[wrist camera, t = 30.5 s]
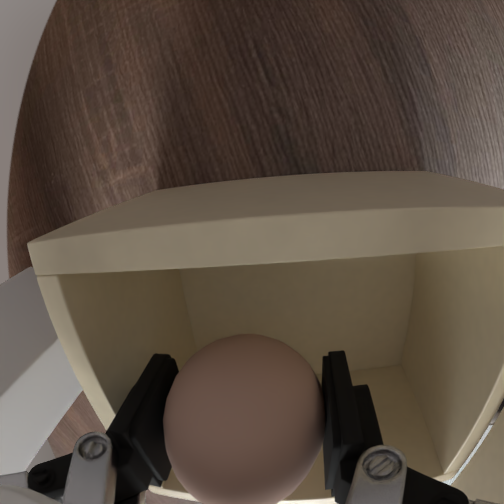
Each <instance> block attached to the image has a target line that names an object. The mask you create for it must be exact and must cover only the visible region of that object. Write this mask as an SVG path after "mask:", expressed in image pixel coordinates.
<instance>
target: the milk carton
mask: <svg viewBox="0 0 504 504" xmlns="http://www.w3.org/2000/svg"><path fill="white" fill-rule="evenodd" d="M82 390H83V389H82V387H81V385H80V383H79V381H78V379H77V377H76V375H75V373H74V371H73V369H72V367H71V365H70V363H69V361H68V358H67V356H66V354H65V352H64V350H63V347H62V345H61V343H60V340H59V338H58V336H57V333H56V331H55V328H54V326H53V323H52V321H51V318H50V316H49V313H48V310H47V307H46V305H45V302H44V299H43V296H42V293H41V290H40V287H39V284H38V281H37V275H36V274H35V272H34V268H33V267H29V268H27V269H25V270H24V271H22V272H20V273H18V274H17V275H15V276H13V277H12V278H10V279H8V280H7V281H5V282H4V283H2V284H1V285H0V475H6V474H12V473H18V472H23V471H25V470H26V469H27V467H28V466H29V464H30V463H31V461H32V460H33V458H34V457H35V455H36V454H37V452H38V451H39V449H40V448H41V447H42V445H43V444H44V442H45V441H46V439H47V438H48V437H49V435H50V434H51V432H52V431H53V430H54V428H55V427H56V425H57V424H58V423H59V421H60V420H61V418H62V417H63V416H64V414H65V413H66V412H67V410H68V409H69V408H70V406H71V405H72V403H73V402H74V401H75V399H76V398H77V397H78V395H79V394H80V393H81V391H82Z"/></svg>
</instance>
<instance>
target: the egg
mask: <svg viewBox="0 0 504 504" xmlns="http://www.w3.org/2000/svg"><path fill="white" fill-rule="evenodd" d="M325 424H326V413H325V401H324V395H323V391H322V387H321V384H320V382H319V380H318V378H317V376H316V374H315V373H314V371H313V369H312V368H311V366H310V364H309V363H308V362H307V361H306V360H305V359H304V358H303V357H302V356H301V355H300V354H299V353H298V352H296V351H295V350H294V349H292V348H291V347H289V346H288V345H286V344H285V343H283V342H281V341H280V340H276V339H273V338H270V337H267V336H263V335H258V334H237V335H233V336H229V337H225V338H221V339H217V340H216V341H214V342H212V343H210V344H208V345H206V346H204V347H203V348H202V349H200V350H199V351H198V352H196V353H195V354H193V355H192V356H191V357H190V358H189V359H188V360H187V361H186V363H185V364H184V366H183V367H182V368H181V370H180V371H179V373H178V374H177V375H176V377H175V380H174V382H173V384H172V387H171V389H170V392H169V394H168V396H167V399H166V405H165V410H164V416H163V428H164V437H165V445H166V451H167V455H168V458H169V460H170V463H171V465H172V468H173V470H174V473H175V475H176V478H177V479H178V480H179V482H180V483H181V484H182V485H183V487H184V488H185V489H186V490H187V491H188V492H189V493H190V494H191V495H192V496H193V497H194V498H195V499H196V500H198V501H199V502H200V503H202V504H277V503H279V502H280V501H281V500H283V499H284V498H286V497H287V496H289V495H290V494H292V493H293V492H294V491H295V489H296V488H297V487H298V486H299V485H300V483H301V482H302V481H303V480H304V479H305V477H306V476H307V475H308V473H309V471H310V469H311V468H312V466H313V464H314V462H315V460H316V458H317V456H318V454H319V452H320V450H321V447H322V443H323V440H324V433H325Z"/></svg>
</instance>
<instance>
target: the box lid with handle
mask: <svg viewBox="0 0 504 504" xmlns="http://www.w3.org/2000/svg"><path fill="white" fill-rule="evenodd" d="M451 486H452V487H455V488H457V489H459V490H461V491H463V492H464V493H465V495H466V496H467V497H468V499H469V500H473V501H475V500H476V499H481V500H485V501H489V502H494V503H498V504H504V407H503V409H502V411H501V413H500V415H499V416H498V418H497V420H496V421H495V423H494V425H493V427H492V428H491V430H490V431H489V433H488V435H487V436H486V438H485V439H484V441H483V442H482V444H481V445H480V447H479V448H478V450H477V451H476V453H475V454H474V456H473V457H472V458H471V460H470V461H469V463H468V464H467V465H466V467H465V468H464V469H463V471H462V472H461V473H460V475H459V476H458V477H457V478H456V480H455V481H454V482H453V483H452V485H451Z"/></svg>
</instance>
